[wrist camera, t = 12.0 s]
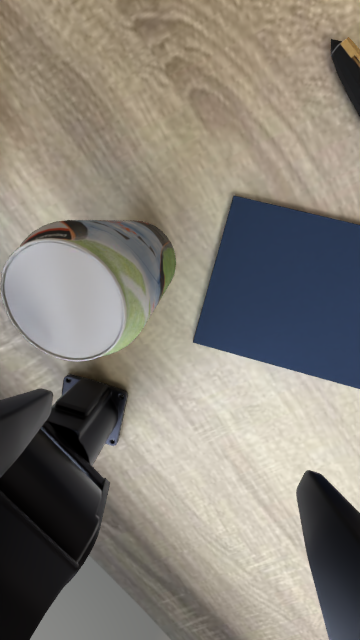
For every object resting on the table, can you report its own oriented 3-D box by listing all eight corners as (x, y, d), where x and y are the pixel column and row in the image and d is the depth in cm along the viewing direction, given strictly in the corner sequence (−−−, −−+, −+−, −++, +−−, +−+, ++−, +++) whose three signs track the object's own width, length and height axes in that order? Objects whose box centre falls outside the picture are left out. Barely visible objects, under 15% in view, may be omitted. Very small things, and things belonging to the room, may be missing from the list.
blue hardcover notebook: (423, 405, 19) (428, 408, 19) (193, 341, 21) (192, 342, 20) (512, 262, 16) (520, 262, 16) (233, 196, 17) (234, 194, 17)
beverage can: (164, 212, 18) (84, 131, 7) (192, 300, 20) (165, 354, 8) (95, 239, 20) (-70, 209, 8) (126, 320, 21) (23, 392, 10)
